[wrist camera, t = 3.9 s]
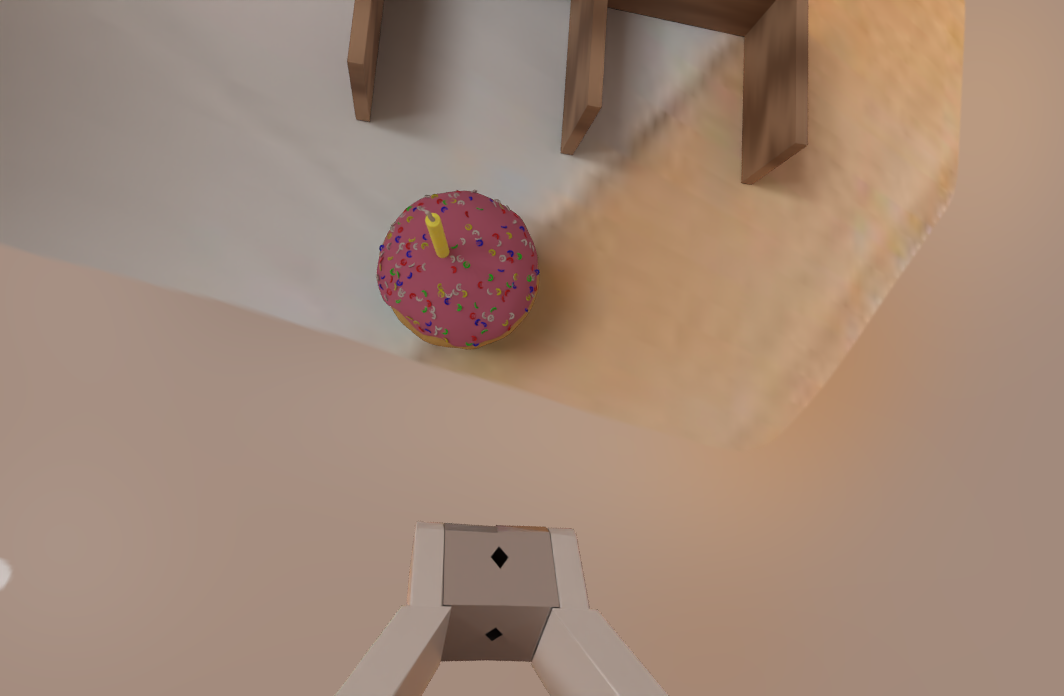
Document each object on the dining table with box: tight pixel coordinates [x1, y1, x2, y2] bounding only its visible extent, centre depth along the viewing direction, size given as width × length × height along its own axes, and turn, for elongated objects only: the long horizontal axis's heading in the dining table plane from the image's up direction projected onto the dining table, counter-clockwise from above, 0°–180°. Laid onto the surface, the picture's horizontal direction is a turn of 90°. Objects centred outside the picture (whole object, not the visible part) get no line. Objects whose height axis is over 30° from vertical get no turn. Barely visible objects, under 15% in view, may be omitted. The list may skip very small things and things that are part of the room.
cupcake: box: [376, 190, 539, 349], centre depth 31 cm, size 9×8×12 cm
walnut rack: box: [347, 0, 808, 184], centre depth 35 cm, size 12×26×11 cm, turn 86°
